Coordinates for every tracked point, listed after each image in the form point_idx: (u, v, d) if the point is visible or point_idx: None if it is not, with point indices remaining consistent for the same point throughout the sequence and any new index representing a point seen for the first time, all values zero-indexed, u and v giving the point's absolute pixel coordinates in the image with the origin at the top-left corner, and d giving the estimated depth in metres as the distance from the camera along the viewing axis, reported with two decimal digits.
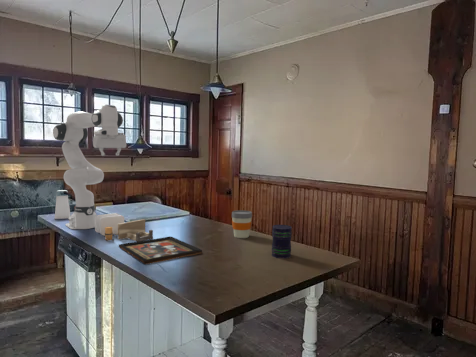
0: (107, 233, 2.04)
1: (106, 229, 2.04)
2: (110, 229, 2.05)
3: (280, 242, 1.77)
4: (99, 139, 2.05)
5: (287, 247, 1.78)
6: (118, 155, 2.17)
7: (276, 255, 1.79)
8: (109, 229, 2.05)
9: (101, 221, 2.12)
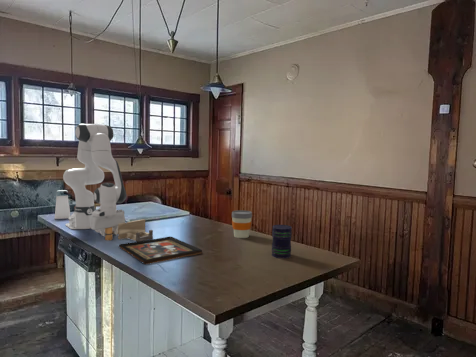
0: (107, 233, 2.04)
1: (106, 229, 2.04)
2: (110, 229, 2.05)
3: (280, 242, 1.77)
4: (97, 221, 1.98)
5: (287, 247, 1.78)
6: None
7: (276, 255, 1.79)
8: (109, 229, 2.05)
9: None
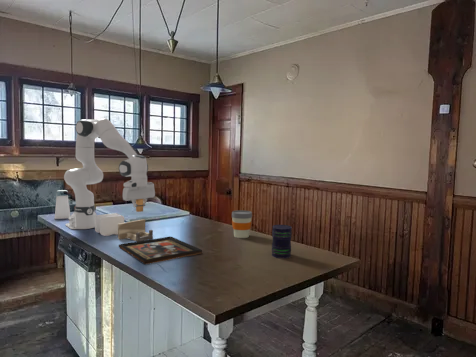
0: (138, 204, 2.06)
1: (137, 200, 2.06)
2: (141, 200, 2.07)
3: (280, 242, 1.77)
4: (129, 192, 2.00)
5: (287, 247, 1.78)
6: None
7: (276, 255, 1.79)
8: (140, 200, 2.06)
9: (101, 221, 2.12)
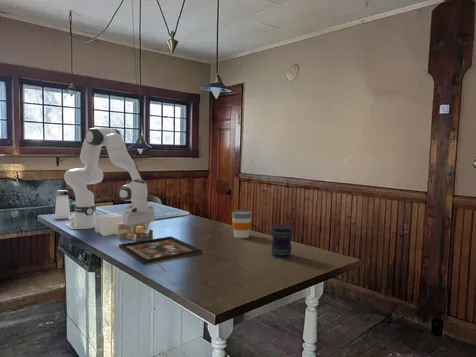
0: (138, 232, 2.08)
1: (137, 228, 2.07)
2: (141, 228, 2.08)
3: (280, 242, 1.77)
4: (129, 217, 2.01)
5: (287, 247, 1.78)
6: (147, 229, 2.13)
7: (276, 255, 1.79)
8: (140, 228, 2.08)
9: (101, 221, 2.12)
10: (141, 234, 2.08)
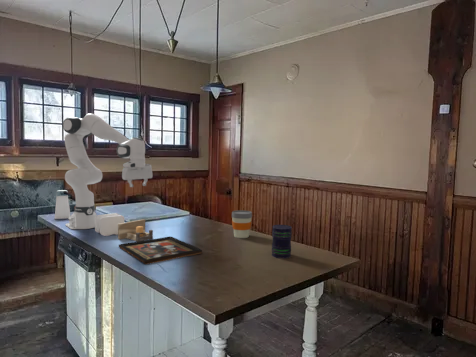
0: (138, 232, 2.08)
1: (137, 228, 2.07)
2: (141, 228, 2.08)
3: (280, 242, 1.77)
4: (128, 172, 2.13)
5: (287, 247, 1.78)
6: (145, 185, 2.25)
7: (276, 255, 1.79)
8: (140, 228, 2.08)
9: (101, 221, 2.12)
10: (141, 234, 2.08)
